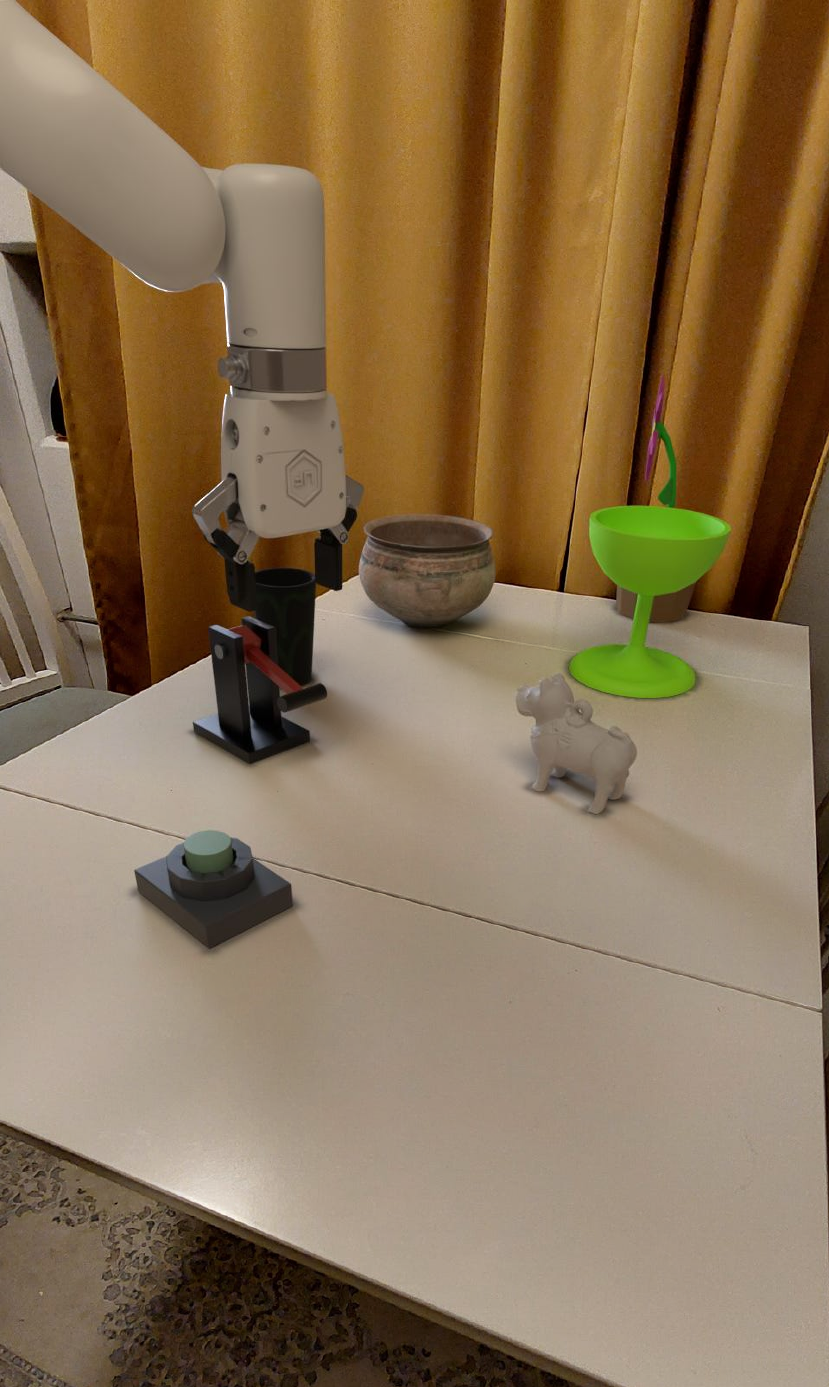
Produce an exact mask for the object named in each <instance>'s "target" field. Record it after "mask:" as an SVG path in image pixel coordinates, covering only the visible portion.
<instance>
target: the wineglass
mask: <svg viewBox="0 0 829 1387" xmlns="http://www.w3.org/2000/svg"><path fill="white" fill-rule="evenodd" d="M588 525H589V527H588V529H589V532H588V538H589V541H590V546H591V550H592V554H593V556H594V558H595V560H596V561H597V563H598V565H599V567H600V568H601V570H602V572H603V574H604V575H606V576H607V578H608V579H610V580H611V581H612V582H613V583H614V584H615V585H616V586H617V585H618V586H620V587H622V588H624V589H626V590H629V591H631V592H633V593H636V594H638V597H637V603H636V609H635V614H634V619H632V626H631V631H630V637H629V642H628V644H626V643H625V644H621V643H614V644H602V645H597V646H592V647H589V648H586V649H584V650H582V651H581V650H580V651H579V652H578V653H577V654H575V656H574V657H573V658H571V660H570V662H569V666H568V672H569V673H570V675H571V677H573V678H574V679H575V680H576V681H578V682H579V683H581V684H583V685H585V686H586V687H588V688H591V689H593V690H597V691H599V692H603V693H607V694H611V695H615V696H620V697H628V698H636V699H659V698H660V699H661V698H670V697H674V696H677V695H682V694H684V693H686V692H688V691H691V689H693V687H694V686H695V685H696V673H695V671H694V670H693V668H692V667H691V666H690V664H689V663H688V662H686V661H685V660H684V659H682V658H681V657H679V656H676V655H674V654H673V653H670V652H667V651H664V650H661V649H658V648H653V647H649V646H646V640H647V634H648V629H649V623H650V622H649V619H650V614H651V608H652V603H653V598H654V596H657V595H663V594H668V593H674V592H677V591H680V590H681V589H683V588H685V587H687V586H689V585H691V584H693V583H695V582H696V581H697V582H698V581H699V579H701V578H702V577H703V576H704V575H705V574H706V573H707V572H709V570H710V569H711V568H713V566H715V564H716V562H717V561H718V559H719V557H720V556H721V555H722V553H723V552H724V550H725V548H726V545H727V542H728V541H729V540H728V539H729V537H730V534H731V531H732V527H731V525H730V524H729V523H728V522H726V521H725V520H723V519H721V518H719V517H716V516H714V515H711V514H707V513H703V512H698V511H694V510H689V509H685V508H676V507H674V508H670V507H667V506H658V505H657V506H656V505H618V506H610V507H605V508H600V509H597V510H595V511H594V512H591V513H590V515H589V524H588ZM697 582H696V583H697Z"/></svg>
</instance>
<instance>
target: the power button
mask: <svg viewBox="0 0 829 1387" xmlns="http://www.w3.org/2000/svg"><path fill="white" fill-rule="evenodd" d="M230 837H231V836H230V835H228V833H226V832H223V831H221V830H213V829H206V830H201V831H200V830H199V831H197V832H194V833H192V834H190V835H189V836H187V837H186V838H185V840H184V841H183V843H184V851H185V858H186V864H187V867H188V868H189V869H190V870H192V871H194V872H200V873H210V872H218V871H221V870H224V869H226V868H228V867H230V866H231V865H232V863H233V851H232V842H231V838H230Z"/></svg>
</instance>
